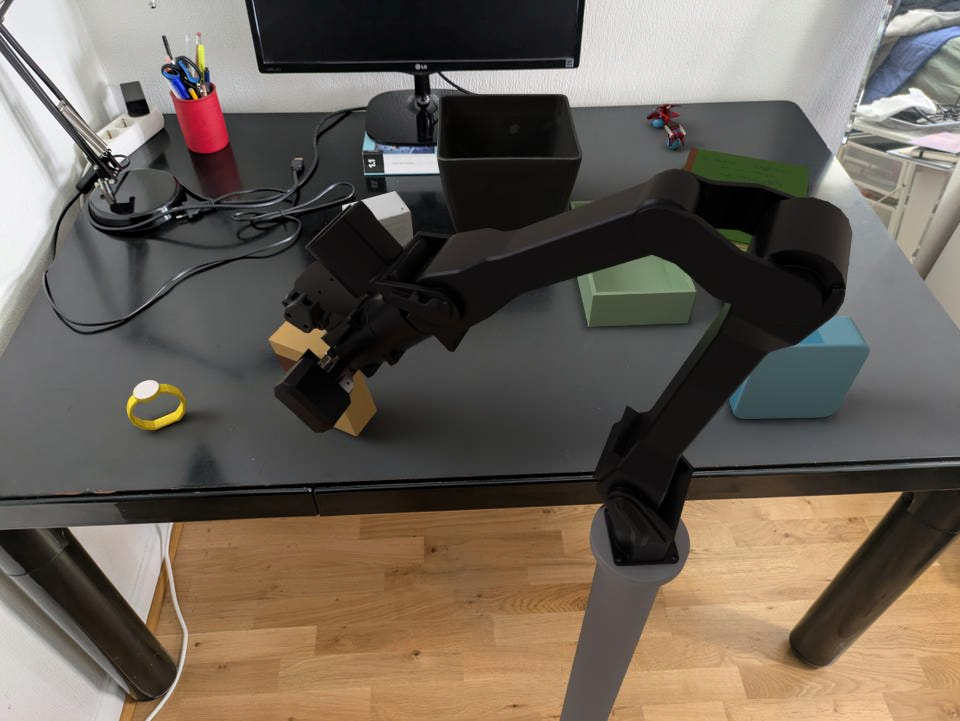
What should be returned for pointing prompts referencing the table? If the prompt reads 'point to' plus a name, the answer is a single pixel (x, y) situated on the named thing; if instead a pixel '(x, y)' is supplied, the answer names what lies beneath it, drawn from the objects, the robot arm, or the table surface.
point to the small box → (391, 215)
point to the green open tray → (636, 292)
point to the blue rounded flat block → (804, 375)
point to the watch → (148, 393)
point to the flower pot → (506, 158)
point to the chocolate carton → (295, 343)
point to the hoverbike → (668, 124)
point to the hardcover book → (747, 178)
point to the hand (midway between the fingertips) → (314, 369)
